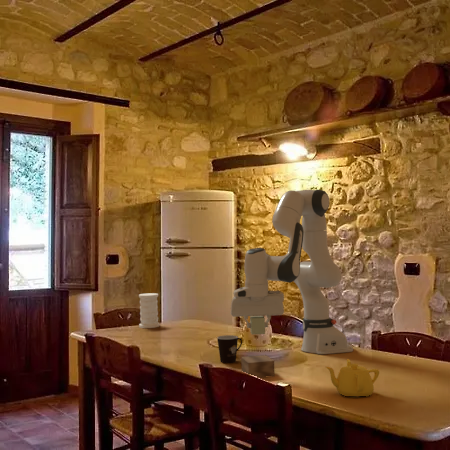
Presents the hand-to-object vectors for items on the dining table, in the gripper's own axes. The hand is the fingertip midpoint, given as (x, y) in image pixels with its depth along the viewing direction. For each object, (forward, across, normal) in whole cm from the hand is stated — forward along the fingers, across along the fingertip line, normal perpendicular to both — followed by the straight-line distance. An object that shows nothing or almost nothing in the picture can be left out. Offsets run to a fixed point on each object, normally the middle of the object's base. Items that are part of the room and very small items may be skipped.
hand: (257, 327), depth 227 cm
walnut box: (+18, 0, 0) cm, 18 cm away
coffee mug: (+18, +9, -22) cm, 30 cm away
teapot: (+18, -28, +30) cm, 45 cm away
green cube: (+2, 0, 0) cm, 2 cm away
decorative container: (+18, +50, -112) cm, 124 cm away
